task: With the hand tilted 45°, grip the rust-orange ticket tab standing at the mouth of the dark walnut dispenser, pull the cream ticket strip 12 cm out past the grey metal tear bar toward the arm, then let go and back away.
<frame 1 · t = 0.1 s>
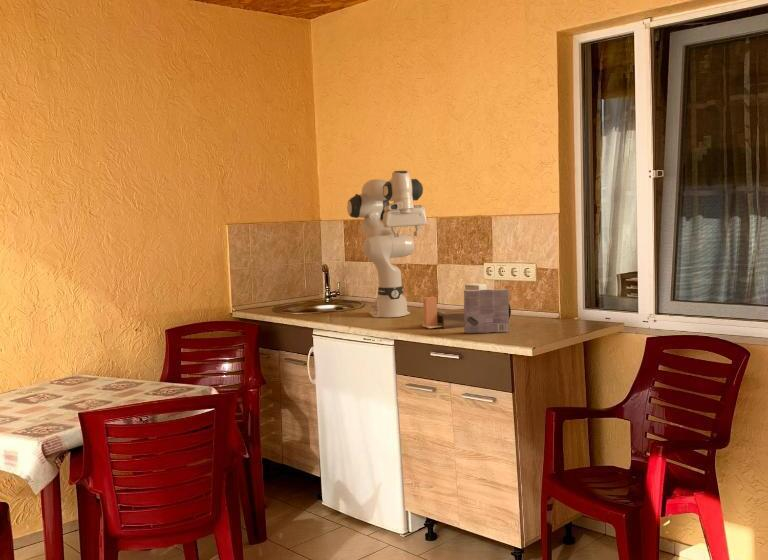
hand: (406, 236, 371), 39 cm above the table, tool pointing down, fingers open, 8 cm apart
skincare box: (476, 318, 377), on the table
walnut dispenser: (457, 325, 357), on the table
cake pan box: (488, 332, 335), on the table
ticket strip: (447, 310, 355), point 7 cm above the table, slide at 0.0 cm
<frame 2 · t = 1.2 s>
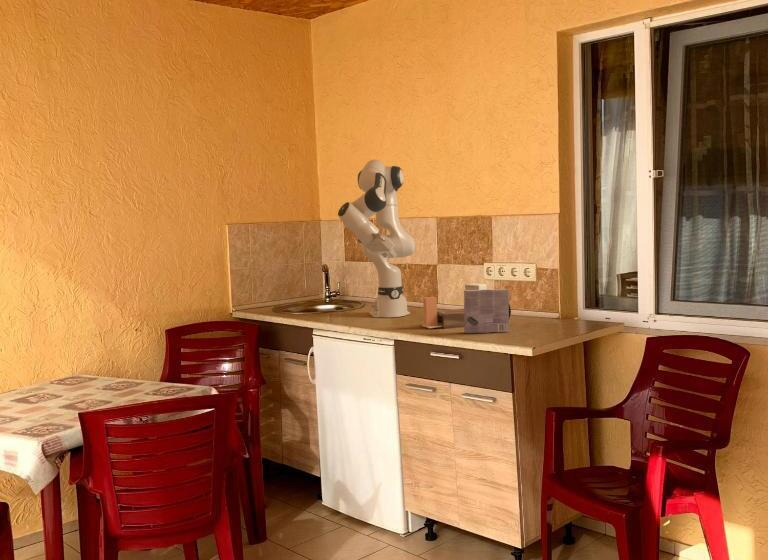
hand: (390, 256, 351), 32 cm above the table, tool tilted 45°, fingers open, 8 cm apart
nothing on the table moved.
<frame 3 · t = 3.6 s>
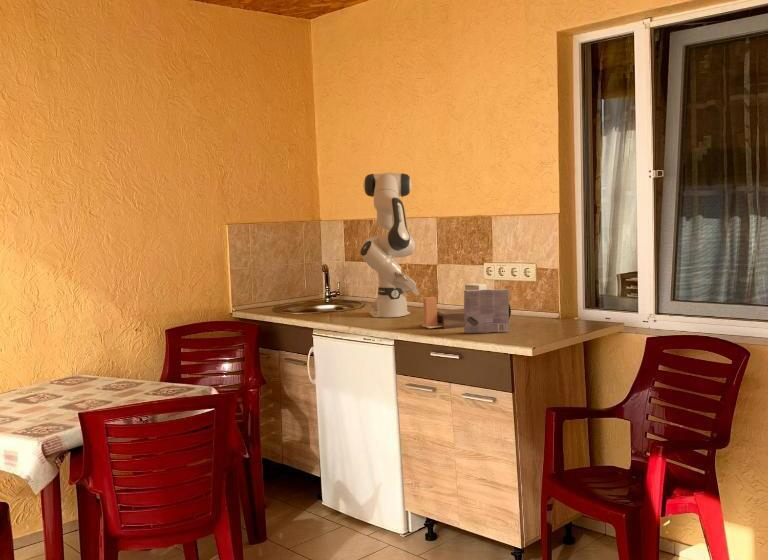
hand: (413, 293, 349), 16 cm above the table, tool tilted 45°, fingers open, 8 cm apart
nothing on the table moved.
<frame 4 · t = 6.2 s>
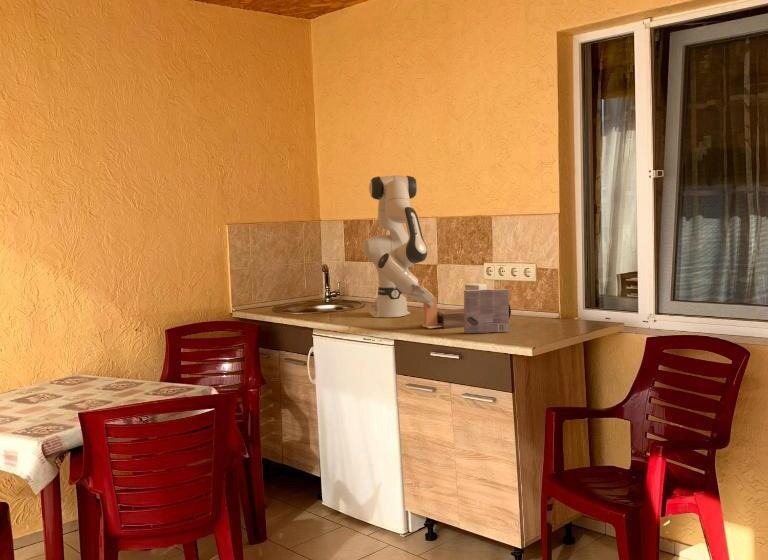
hand: (430, 305, 352), 10 cm above the table, tool tilted 45°, fingers closed on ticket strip, 3 cm apart
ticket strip: (447, 310, 355), point 7 cm above the table, slide at 0.0 cm, touching gripper
everything else where it was.
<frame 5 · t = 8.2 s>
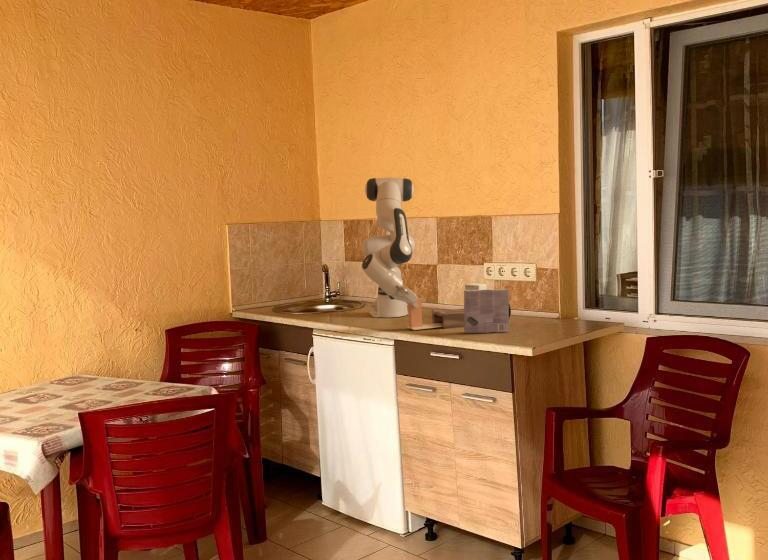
hand: (415, 306, 350), 10 cm above the table, tool tilted 45°, fingers closed on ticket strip, 3 cm apart
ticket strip: (432, 311, 353), point 7 cm above the table, slide at 7.1 cm, touching gripper
everything else where it was.
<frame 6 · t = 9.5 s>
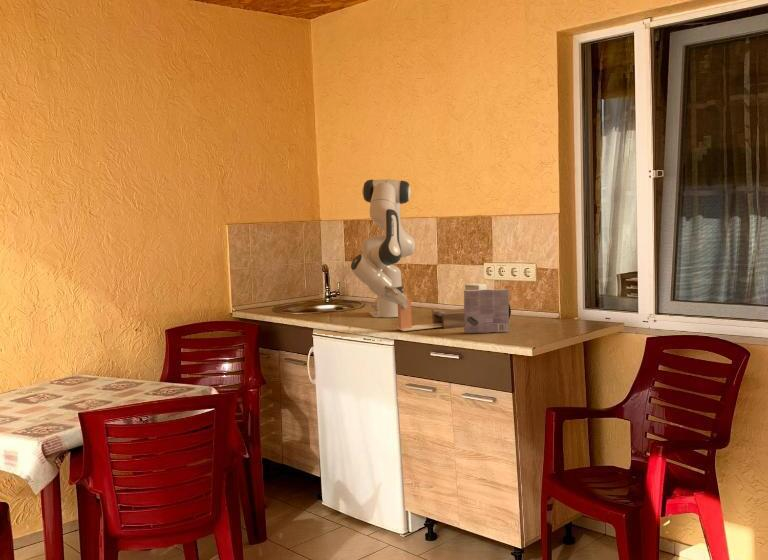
hand: (404, 306, 348), 10 cm above the table, tool tilted 45°, fingers closed on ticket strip, 3 cm apart
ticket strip: (422, 312, 351), point 7 cm above the table, slide at 11.9 cm, touching gripper
everything else where it was.
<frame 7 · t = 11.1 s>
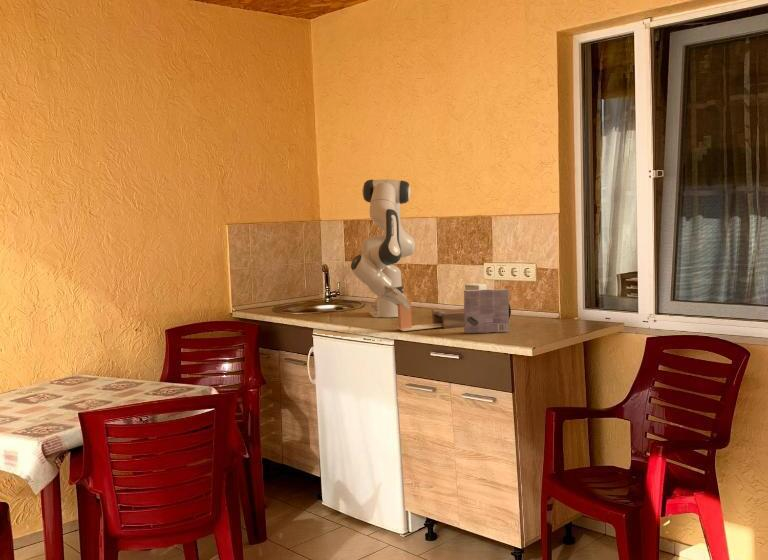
hand: (404, 306, 348), 10 cm above the table, tool tilted 45°, fingers open, 8 cm apart
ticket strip: (421, 312, 351), point 7 cm above the table, slide at 12.0 cm
everything else where it was.
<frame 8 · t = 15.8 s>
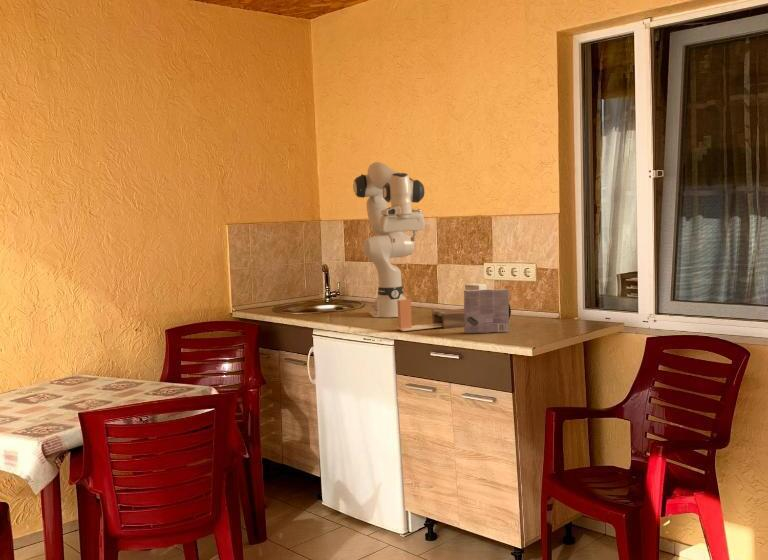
hand: (403, 241, 359), 37 cm above the table, tool pointing down, fingers open, 8 cm apart
nothing on the table moved.
at the end: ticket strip slide at 12.0 cm; the gripper is holding nothing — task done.
